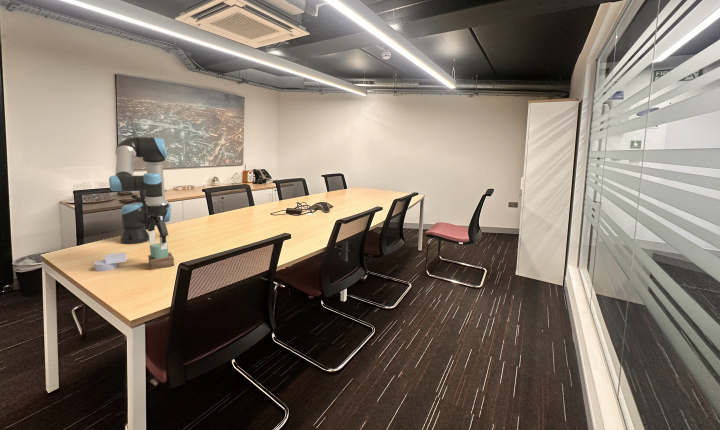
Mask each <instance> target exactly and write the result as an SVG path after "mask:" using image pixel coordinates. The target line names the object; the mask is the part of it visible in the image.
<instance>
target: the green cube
mask: <svg viewBox="0 0 720 430" xmlns="http://www.w3.org/2000/svg"><path fill="white" fill-rule="evenodd" d="M149 253H150V255H151V257H153V258H154V259H159V258H163V257H168V253H169V248H168V245H167V249H163V250H161V247H160V242H159V243H153V244H150V245H149Z"/></svg>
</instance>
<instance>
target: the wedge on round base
mask: <svg viewBox="0 0 720 430" xmlns="http://www.w3.org/2000/svg"><path fill="white" fill-rule="evenodd" d="M127 261H128V259H127V253H126V252H117V253H112V254H111V253H110V254H105V255H104V259H103V258H102V259H99V260H96V261H95V262H94V265H93V266H94V271H95V272H107V271H113V270H115V269H117V268H118V264H119V263H126V262H127Z"/></svg>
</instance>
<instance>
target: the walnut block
mask: <svg viewBox="0 0 720 430" xmlns="http://www.w3.org/2000/svg"><path fill="white" fill-rule="evenodd" d="M147 257H148V265H149V268H150V269H151V271H153V270H161V269H165V268H172V266H174V267H175V258H174V256H173V254H172V253H171V251H170V252H169V251H168V257H163V258H159V259H154V258H153V257H151V254H149V255H147Z"/></svg>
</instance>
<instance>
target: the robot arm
mask: <svg viewBox="0 0 720 430" xmlns="http://www.w3.org/2000/svg"><path fill="white" fill-rule="evenodd" d="M115 156H116V164H115V165H116V166H115V175H111V176H109V178H108V182H109V184H108V185H109V189H110V190H111V191H112V192H131V191H132V192H134V191H135V192H137V191H139V192H141V191H144V201H145V204H144V203H143V202H134V203H128V204H126V205H122V207H121V208H120V209H121V210H120V211H121V213H120V214H121V220H122V221H121V223H122V233H121V236H120V243H121V244H126V245H132V244H133V245H134V244H135V245H136V244H142V243H146V242H148V241H149V244H150V245H153V244H157V242H156V231H155V230H156V229H155V226H156V228H157V231H158V233H159V243H160V247H161V250H163V249H167V246H168V244H167V237H168V236H169V232H168V229H167V228H168V227H167V224H166V223H169V222H170V220H171V217H172V216H171V215H172V204H171V203H169V201H168V200H167V199H166V193H165V192H166V190H165V179H164V178H165V177H164V165H163V163H165V162H166V159H167V158H168V152H167V147H166V143H165V140H164V139H163V138H162V137H155V136H154V137H153V136H151V137H149V136H146V137H145V136H144V137H143V136H139V137H138V136H131V137H127V138H125V139H122V141H121V142H119V143H118V144H117V146H116V147H115ZM135 158H141V159H142V162H143V163H145V165H146V166H145V167H146V172H145V173H144V174H143V175H134V164H135V161H134V160H135Z"/></svg>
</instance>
